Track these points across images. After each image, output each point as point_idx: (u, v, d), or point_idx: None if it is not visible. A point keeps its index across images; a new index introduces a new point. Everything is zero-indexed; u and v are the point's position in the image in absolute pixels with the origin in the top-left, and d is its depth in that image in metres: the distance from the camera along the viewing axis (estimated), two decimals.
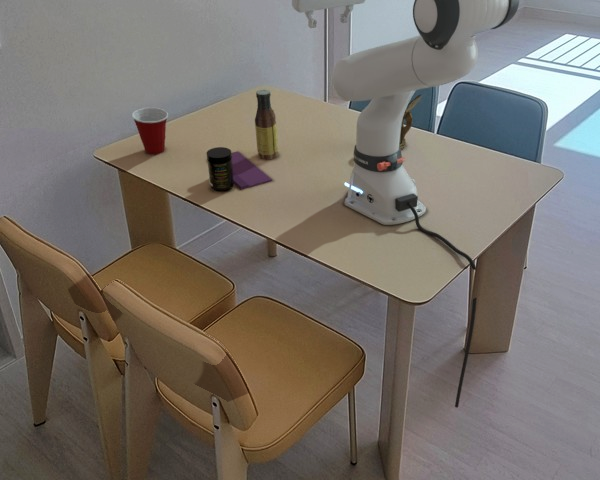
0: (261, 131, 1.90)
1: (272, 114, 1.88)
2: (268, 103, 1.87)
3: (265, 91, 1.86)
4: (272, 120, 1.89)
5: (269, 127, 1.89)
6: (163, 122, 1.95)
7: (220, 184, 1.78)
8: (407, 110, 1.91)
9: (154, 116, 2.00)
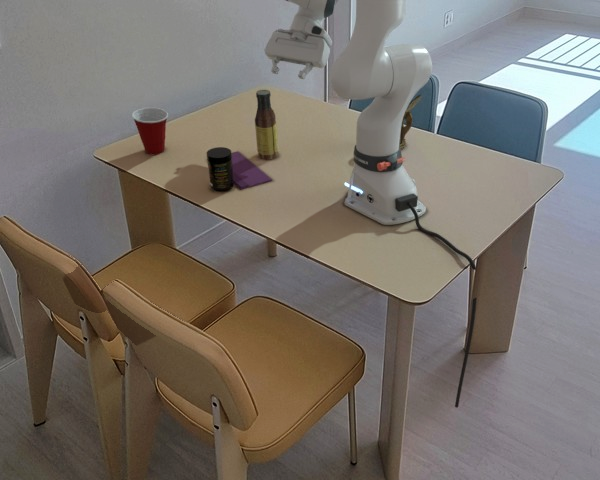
0: (261, 131, 1.90)
1: (272, 114, 1.88)
2: (268, 103, 1.87)
3: (265, 91, 1.86)
4: (272, 120, 1.89)
5: (269, 127, 1.89)
6: (163, 122, 1.95)
7: (220, 184, 1.78)
8: (407, 110, 1.91)
9: (154, 116, 2.00)
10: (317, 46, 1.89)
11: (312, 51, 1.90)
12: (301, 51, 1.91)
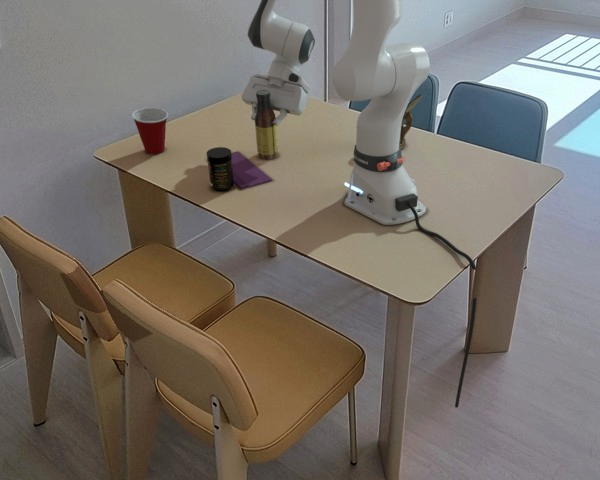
0: (261, 131, 1.90)
1: (272, 114, 1.88)
2: (268, 103, 1.87)
3: (265, 91, 1.86)
4: (272, 120, 1.89)
5: (269, 127, 1.89)
6: (163, 122, 1.95)
7: (220, 184, 1.78)
8: (407, 110, 1.91)
9: (154, 116, 2.00)
10: (294, 94, 1.87)
11: (289, 99, 1.87)
12: (278, 98, 1.88)
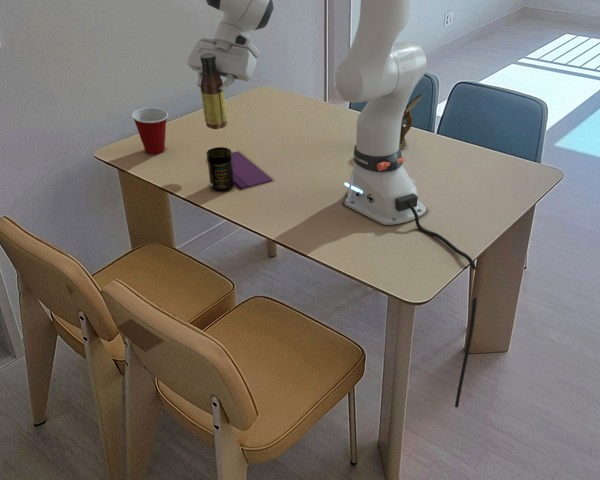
0: (207, 98, 1.77)
1: (218, 79, 1.76)
2: (213, 67, 1.74)
3: (209, 54, 1.73)
4: (219, 86, 1.76)
5: (215, 94, 1.77)
6: (163, 122, 1.95)
7: (220, 184, 1.78)
8: (407, 110, 1.91)
9: (154, 116, 2.00)
10: (241, 57, 1.74)
11: (236, 63, 1.74)
12: (225, 63, 1.76)
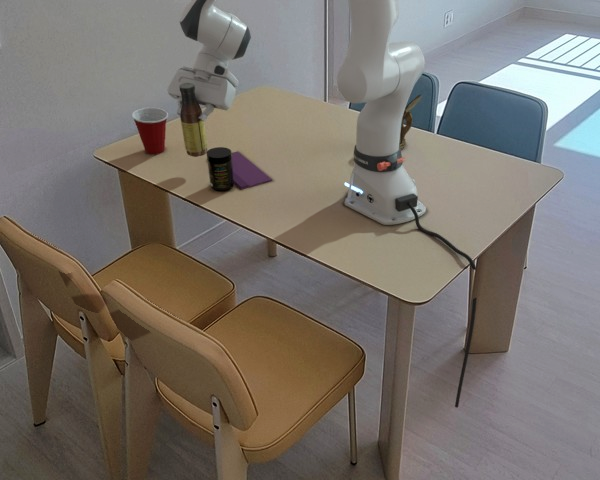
0: (186, 127, 1.79)
1: (197, 109, 1.77)
2: (192, 97, 1.76)
3: (189, 84, 1.75)
4: (198, 115, 1.78)
5: (195, 123, 1.78)
6: (163, 122, 1.95)
7: (220, 184, 1.78)
8: (407, 110, 1.91)
9: (154, 116, 2.00)
10: (220, 87, 1.76)
11: (215, 92, 1.76)
12: (204, 92, 1.77)
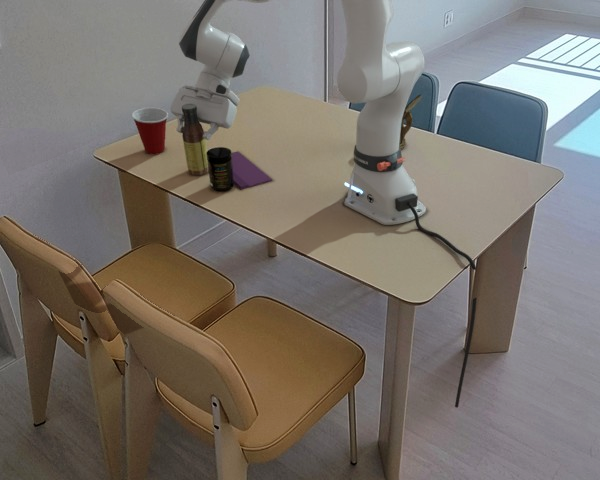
0: (188, 146, 1.83)
1: (199, 129, 1.81)
2: (194, 117, 1.79)
3: (191, 105, 1.78)
4: (200, 135, 1.81)
5: (197, 142, 1.82)
6: (163, 122, 1.95)
7: (220, 184, 1.78)
8: (407, 110, 1.91)
9: (154, 116, 2.00)
10: (222, 106, 1.79)
11: (217, 111, 1.79)
12: (206, 111, 1.81)
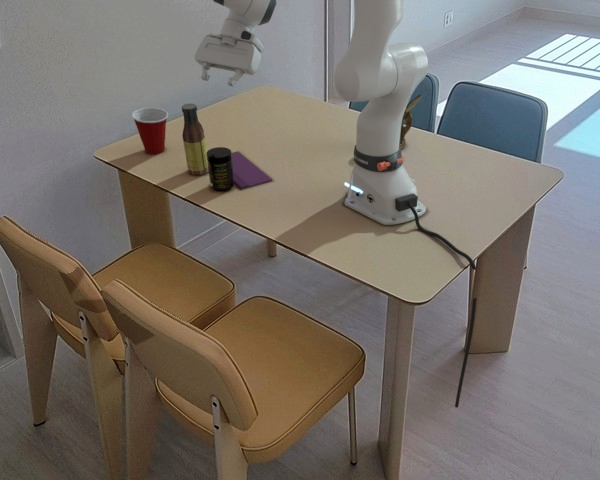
0: (188, 146, 1.83)
1: (199, 129, 1.81)
2: (194, 117, 1.79)
3: (191, 105, 1.78)
4: (200, 135, 1.81)
5: (197, 142, 1.82)
6: (163, 122, 1.95)
7: (220, 184, 1.78)
8: (407, 110, 1.91)
9: (154, 116, 2.00)
10: (247, 52, 1.81)
11: (241, 57, 1.81)
12: (231, 57, 1.83)
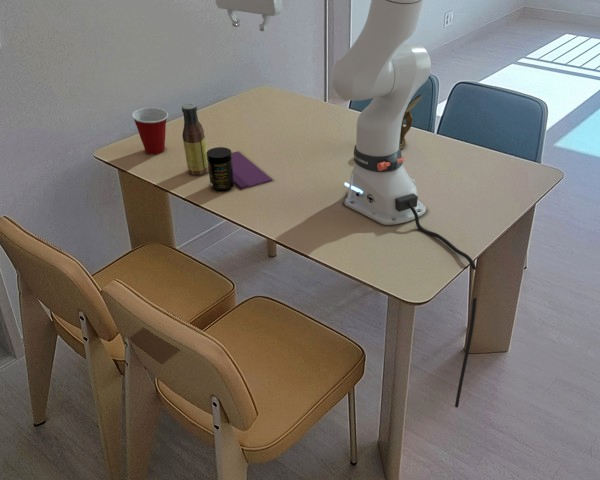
0: (188, 146, 1.83)
1: (199, 129, 1.81)
2: (194, 117, 1.79)
3: (191, 105, 1.78)
4: (200, 135, 1.81)
5: (197, 142, 1.82)
6: (163, 122, 1.95)
7: (220, 184, 1.78)
8: (407, 110, 1.91)
9: (154, 116, 2.00)
10: None
11: (263, 3, 1.74)
12: (252, 4, 1.76)
